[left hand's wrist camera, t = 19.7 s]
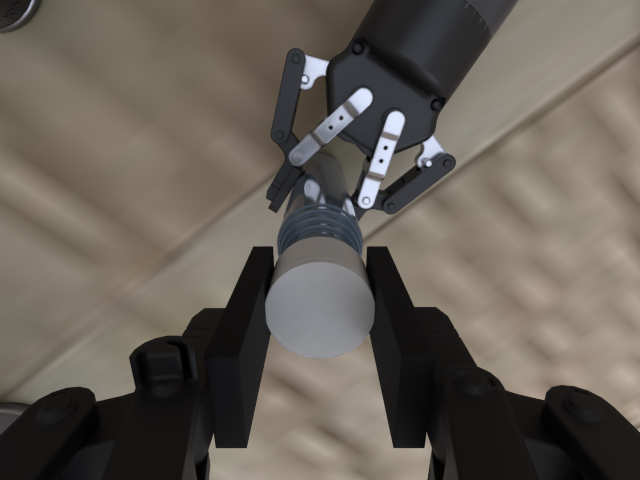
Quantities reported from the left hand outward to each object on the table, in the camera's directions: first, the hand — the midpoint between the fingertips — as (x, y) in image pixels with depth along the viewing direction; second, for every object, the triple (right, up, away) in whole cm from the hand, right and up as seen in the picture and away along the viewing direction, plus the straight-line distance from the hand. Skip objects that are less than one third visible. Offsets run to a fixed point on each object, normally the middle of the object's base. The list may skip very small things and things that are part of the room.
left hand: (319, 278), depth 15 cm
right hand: (-1, +3, +14) cm, 14 cm away
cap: (0, -1, -2) cm, 2 cm away
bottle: (0, +7, +19) cm, 21 cm away
